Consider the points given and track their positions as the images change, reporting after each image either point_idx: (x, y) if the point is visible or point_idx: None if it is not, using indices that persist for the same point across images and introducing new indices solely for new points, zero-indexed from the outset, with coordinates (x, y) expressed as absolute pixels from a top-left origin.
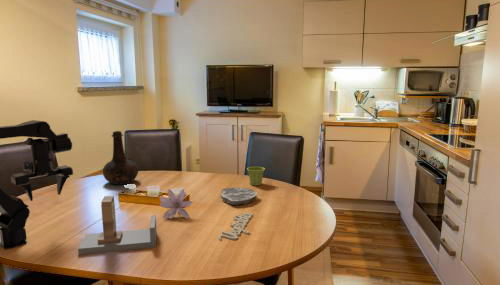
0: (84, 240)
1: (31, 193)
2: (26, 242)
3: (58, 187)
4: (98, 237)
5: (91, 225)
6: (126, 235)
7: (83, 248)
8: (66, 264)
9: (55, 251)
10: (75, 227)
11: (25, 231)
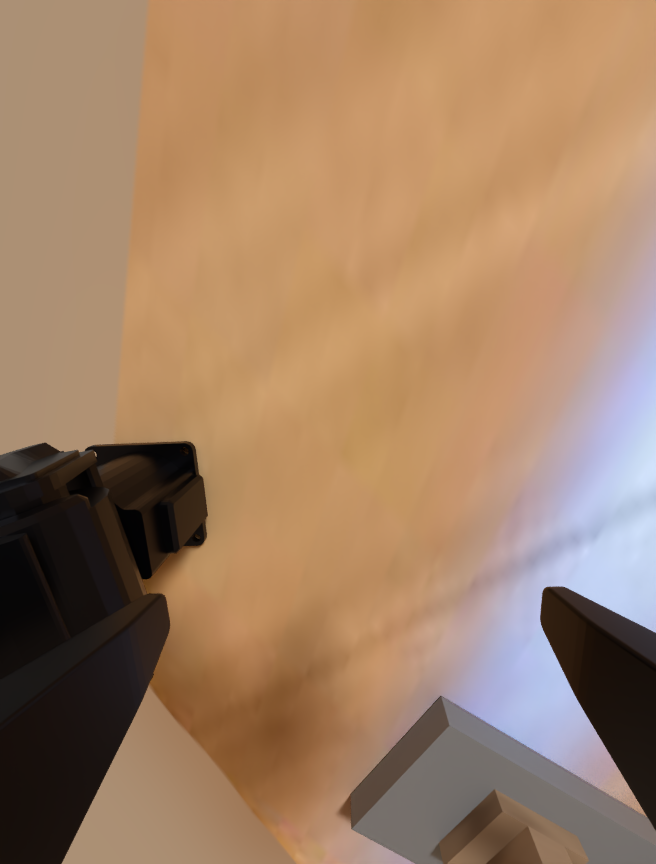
0: (410, 779)
1: (73, 822)
2: (203, 541)
3: (644, 737)
4: (474, 796)
5: (557, 551)
6: None
7: (370, 838)
8: (286, 827)
9: (289, 708)
10: (478, 512)
11: (186, 541)
